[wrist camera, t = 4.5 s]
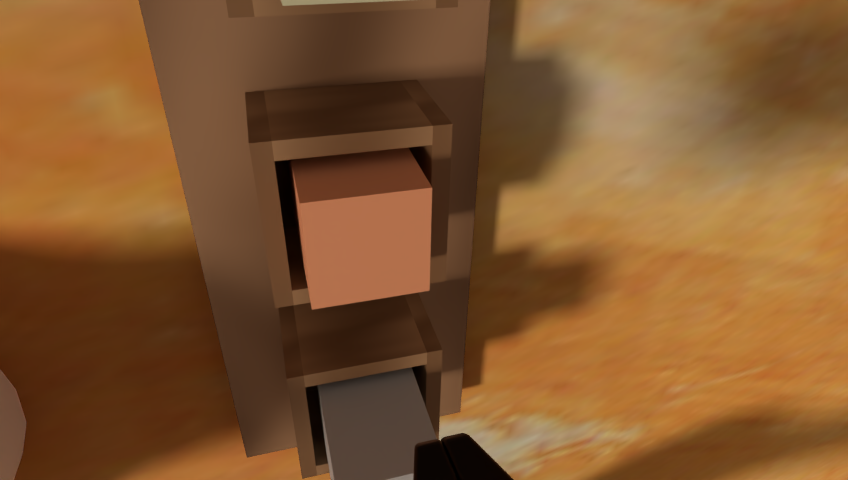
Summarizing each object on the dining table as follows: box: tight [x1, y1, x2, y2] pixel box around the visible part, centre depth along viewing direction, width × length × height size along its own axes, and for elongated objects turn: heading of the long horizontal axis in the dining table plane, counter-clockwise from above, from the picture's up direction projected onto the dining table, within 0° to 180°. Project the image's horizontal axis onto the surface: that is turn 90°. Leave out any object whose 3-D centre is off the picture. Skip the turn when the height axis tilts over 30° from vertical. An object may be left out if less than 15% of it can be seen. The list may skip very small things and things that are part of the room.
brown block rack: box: [139, 0, 490, 479], centre depth 17 cm, size 9×25×5 cm, turn 179°
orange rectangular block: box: [288, 148, 432, 310], centre depth 16 cm, size 3×3×5 cm
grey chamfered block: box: [317, 367, 437, 480], centre depth 19 cm, size 3×3×5 cm
